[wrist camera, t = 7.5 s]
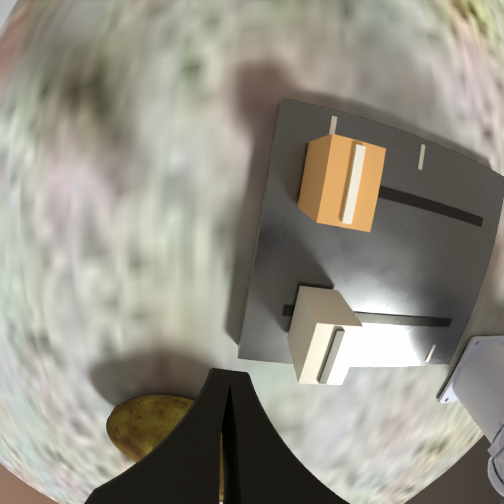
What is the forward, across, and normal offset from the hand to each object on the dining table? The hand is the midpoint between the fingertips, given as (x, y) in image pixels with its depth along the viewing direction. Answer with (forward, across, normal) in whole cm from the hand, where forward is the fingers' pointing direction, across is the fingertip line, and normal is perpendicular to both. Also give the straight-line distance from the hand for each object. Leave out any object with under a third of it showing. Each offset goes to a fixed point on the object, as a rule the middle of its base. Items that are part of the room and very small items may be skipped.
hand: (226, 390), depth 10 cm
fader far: (+8, -5, 0) cm, 9 cm away
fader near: (+8, -4, -8) cm, 11 cm away
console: (+9, -10, -4) cm, 14 cm away
